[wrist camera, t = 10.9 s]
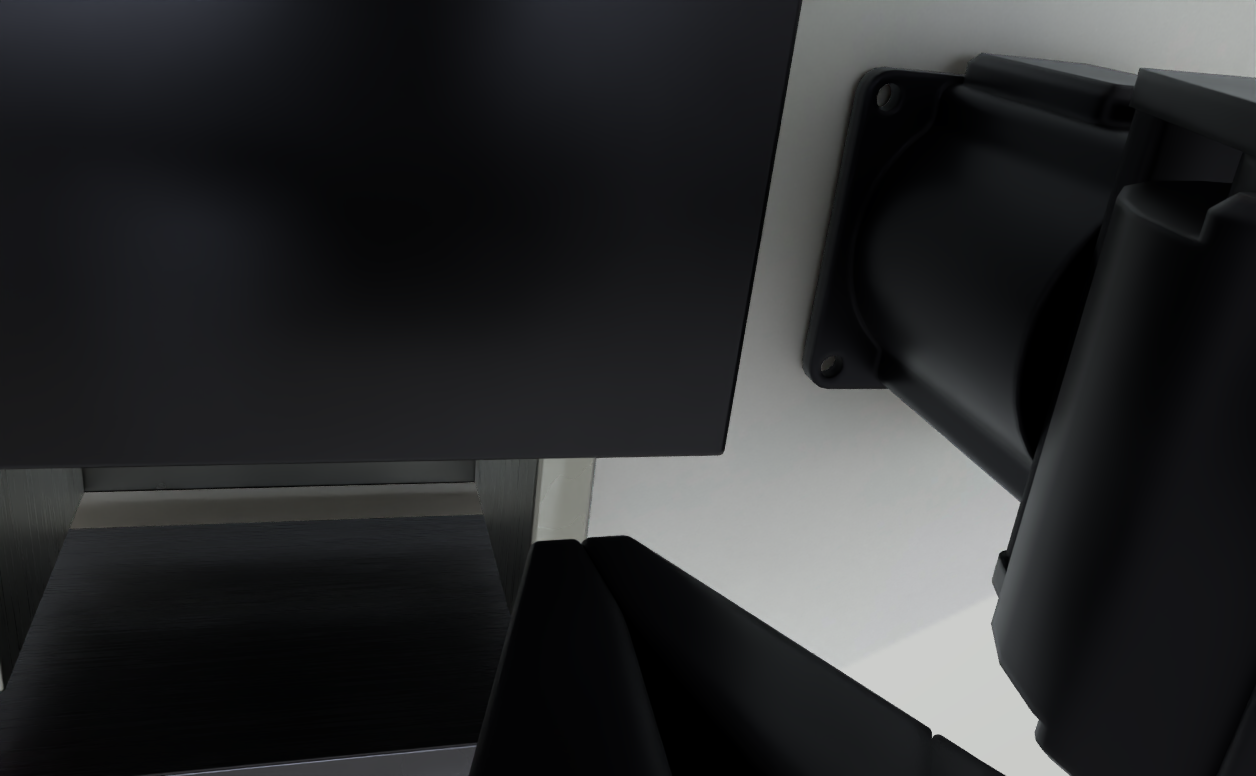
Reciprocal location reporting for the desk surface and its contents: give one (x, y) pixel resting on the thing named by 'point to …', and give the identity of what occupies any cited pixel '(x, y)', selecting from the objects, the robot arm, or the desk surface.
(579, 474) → the drawer
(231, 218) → the black drawer cabinet
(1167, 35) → the desk surface
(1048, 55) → the desk surface
